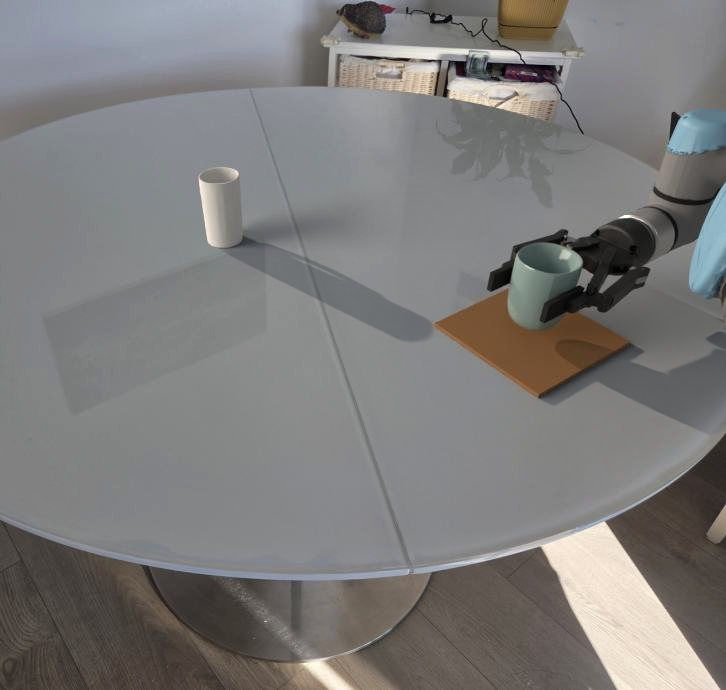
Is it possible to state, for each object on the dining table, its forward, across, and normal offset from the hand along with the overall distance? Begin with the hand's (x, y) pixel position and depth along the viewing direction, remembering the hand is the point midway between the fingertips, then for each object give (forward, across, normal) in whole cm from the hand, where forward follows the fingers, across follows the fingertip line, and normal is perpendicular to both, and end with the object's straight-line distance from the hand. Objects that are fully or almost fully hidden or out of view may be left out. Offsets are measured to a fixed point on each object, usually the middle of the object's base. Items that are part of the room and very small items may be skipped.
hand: (516, 297), depth 80 cm
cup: (-5, 0, -6) cm, 8 cm away
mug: (+15, +50, -8) cm, 53 cm away
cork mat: (-5, 0, -8) cm, 10 cm away
